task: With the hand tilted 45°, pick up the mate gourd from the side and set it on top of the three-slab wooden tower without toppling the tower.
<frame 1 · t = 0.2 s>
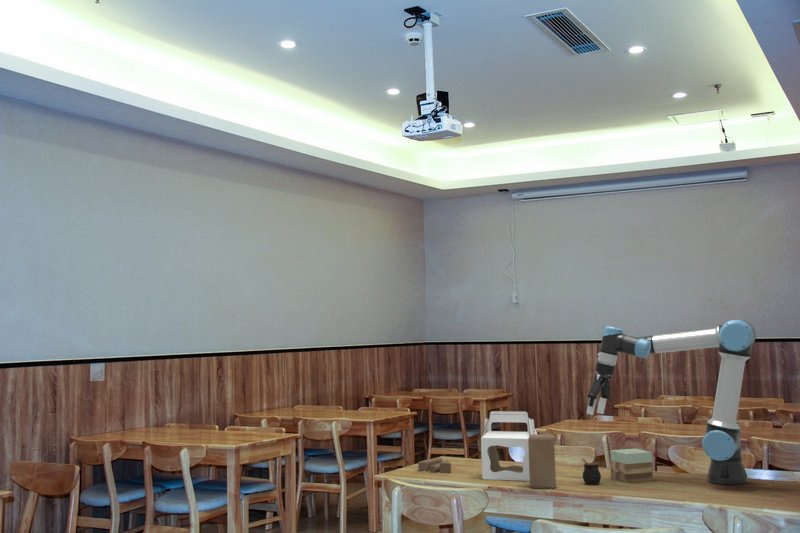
hand: (594, 413, 339), 27 cm above the table, tool pointing down, fingers open, 13 cm apart
slab top: (631, 461, 338), point 7 cm above the table
slab bottom: (631, 480, 337), on the table, touching slab middle
mate gourd: (591, 484, 330), on the table
slab middle: (631, 471, 337), point 3 cm above the table, touching slab bottom
block: (543, 486, 328), on the table
wooden block set: (443, 471, 376), on the table
gable box: (511, 478, 350), on the table
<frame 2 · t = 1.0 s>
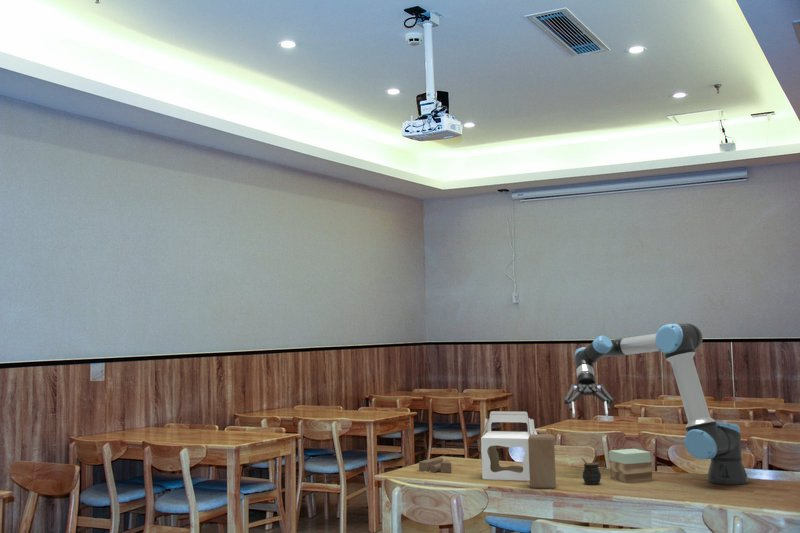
hand: (590, 415, 345), 26 cm above the table, tool tilted 45°, fingers open, 13 cm apart
slab top: (630, 461, 338), point 7 cm above the table, touching slab middle
slab middle: (630, 471, 337), point 3 cm above the table, touching slab bottom, slab top
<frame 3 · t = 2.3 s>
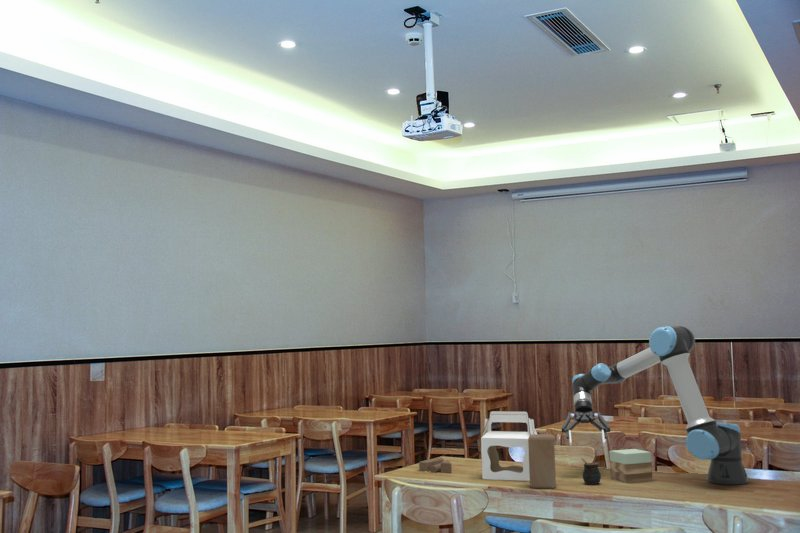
hand: (587, 444, 342), 14 cm above the table, tool tilted 45°, fingers open, 13 cm apart
slab bottom: (631, 481, 337), on the table
slab middle: (631, 471, 337), point 3 cm above the table, touching slab top
everything else where it was.
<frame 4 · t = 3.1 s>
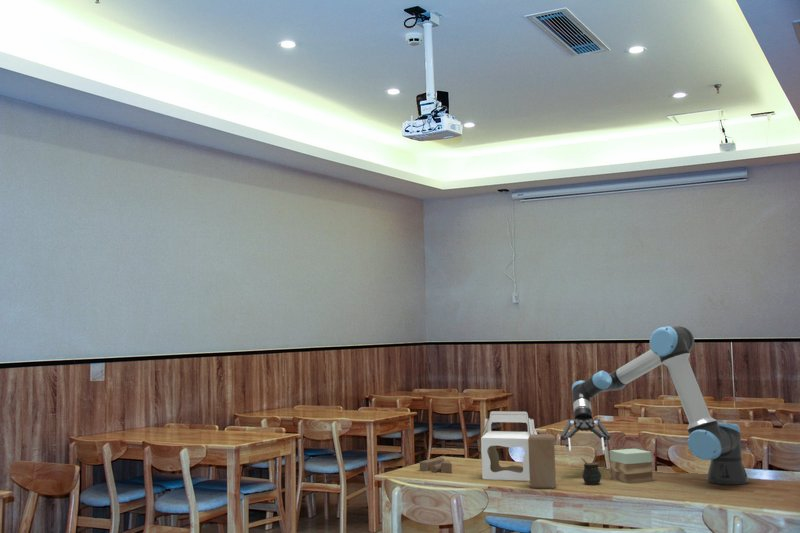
hand: (586, 452, 339), 11 cm above the table, tool tilted 45°, fingers open, 13 cm apart
slab bottom: (631, 480, 337), on the table, touching slab middle
slab middle: (631, 470, 337), point 4 cm above the table, touching slab bottom, slab top
everything else where it was.
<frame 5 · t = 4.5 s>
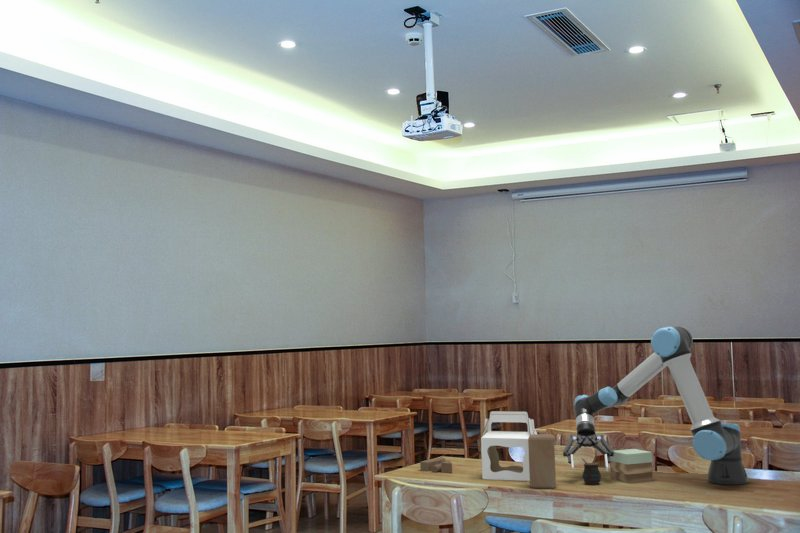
hand: (590, 469, 330), 6 cm above the table, tool tilted 45°, fingers open, 13 cm apart
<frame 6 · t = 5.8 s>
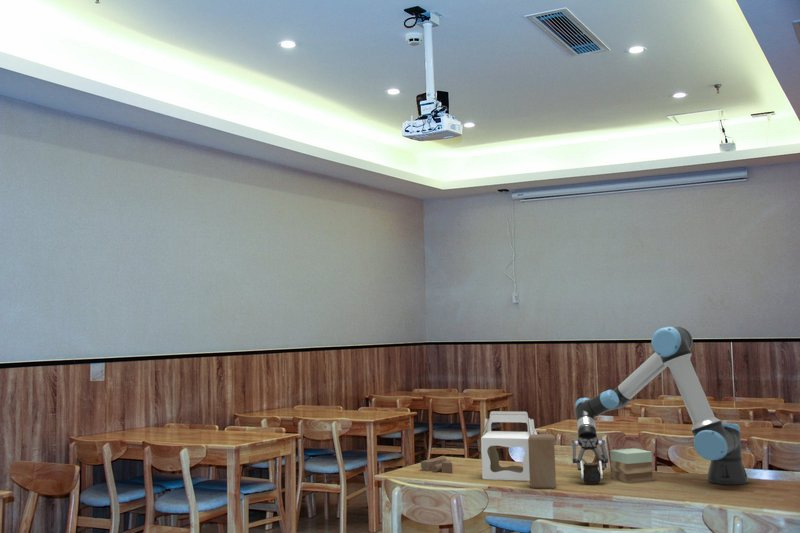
hand: (592, 476, 327), 3 cm above the table, tool tilted 45°, fingers closed on mate gourd, 7 cm apart
mate gourd: (591, 484, 330), on the table, touching gripper
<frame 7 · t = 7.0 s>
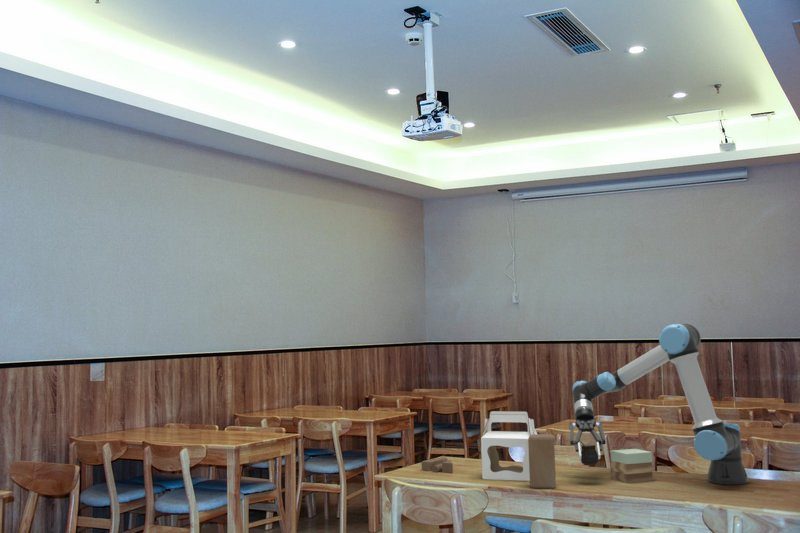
hand: (589, 457, 328), 11 cm above the table, tool tilted 45°, fingers closed on mate gourd, 7 cm apart
mate gourd: (589, 465, 331), point 7 cm above the table, touching gripper
when the fingers open (17 cm above the table, at t = 10.2 s): mate gourd drops 2 cm, resting on slab top.
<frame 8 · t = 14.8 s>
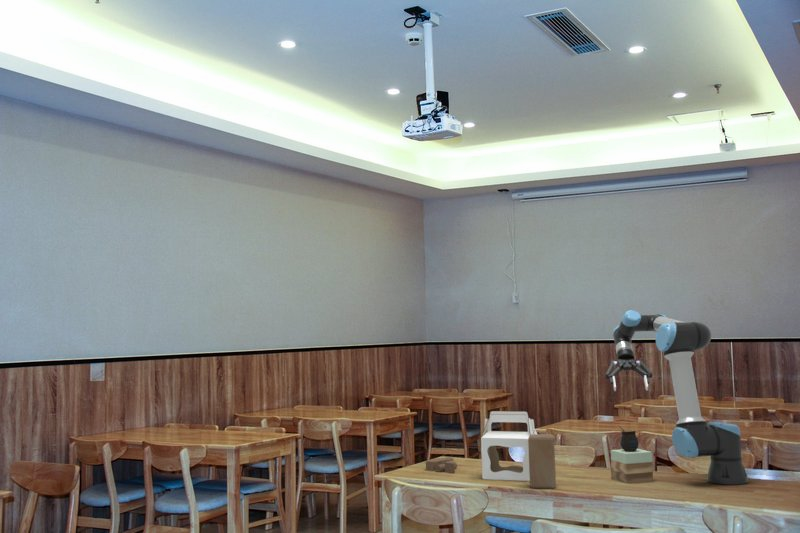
hand: (631, 388, 359), 36 cm above the table, tool tilted 45°, fingers open, 13 cm apart
slab top: (631, 460, 337), point 8 cm above the table, touching mate gourd, slab middle
mate gourd: (629, 451, 338), point 12 cm above the table, touching slab top
wooden block set: (451, 470, 376), on the table
everything else where it was.
at the end: mate gourd inside the target area on the slab top (0.5 cm from its centre), point 3.9 cm above the slab top's base; mate gourd tilted 1°; slab top tilted 0° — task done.
